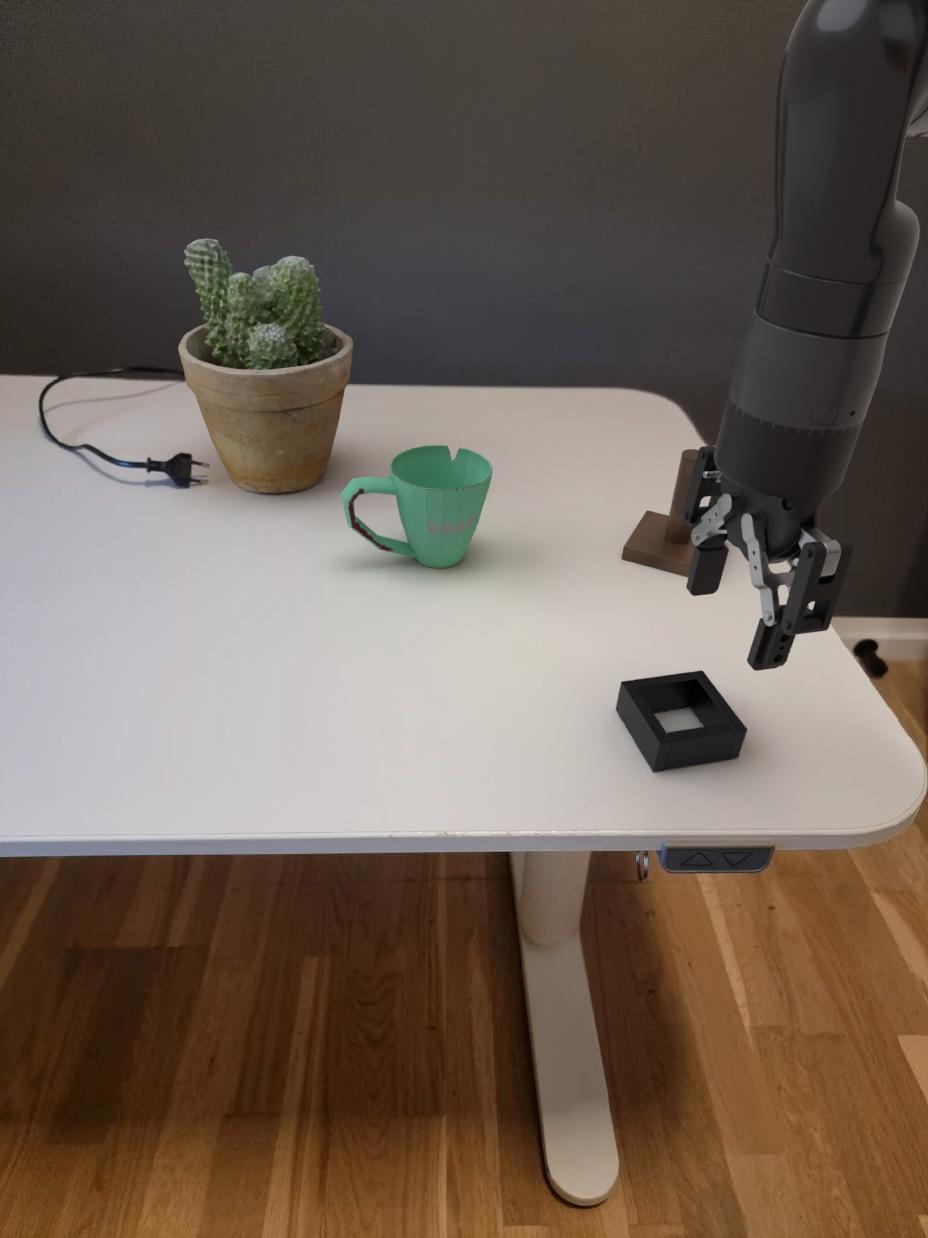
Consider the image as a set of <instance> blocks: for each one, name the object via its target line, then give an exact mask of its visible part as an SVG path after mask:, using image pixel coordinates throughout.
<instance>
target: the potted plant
mask: <svg viewBox="0 0 928 1238" xmlns="http://www.w3.org/2000/svg"><path fill="white" fill-rule="evenodd" d="M183 253H184V254H185V256H186V258H185V259H184V261H183V264H184V266H186V267H187V268H189V270H188V271H189V272H188V274H189V276H190V278H191V279H192V280H193V282H194V283H195V288H196V289H195V293H197V294H198V295H199V301H200V302H201V307H200V311H202V312H203V313H204V316H203V317H202V320H204V321H205V324H201V325H199V326H197V327H195V328H193V329H192V330H190V331H188V332H187V333H185V334H184V335H183V337H182V338H181V340H180V342H179V343H178V347H177V349H178V354H179V358H180V361H181V365H182V368H183V372H184V378H185V383H186V386H187V388H189V389H190V390H191V391H192V393H193V394H194V396H195V398H196V401H197V404H198V407H199V411H200V412H201V415H202V419H203V421H204V424H205V426H206V429H207V431H208V434H209V437H210V440H211V441H212V444H213V446H214V449H215V450H216V453H217V456H218V457H219V459H220V461H221V463H222V465H223V466H224V468H225V471H226V473H227V475H228V477H229V478H230V480H231V481H232V482H234V484H235V485H236V486H238V487H239V488H241V489H242V490H244V491H247V492H250V493H256V494H257V493H259V494H273V495H279V494H287V493H297V492H301V491H304V490H308V489H310V488H313V487H314V486H316V485H317V484H319V483H321V482H322V481H323V479H324V478H325V475H326V474H327V470H328V464H329V461H330V458H331V456H332V455H331V454H332V451H333V447H334V442H335V438H336V434H337V431H338V427H339V422H340V417H341V411H342V406H343V403H344V397H345V391H346V388H347V386H348V383H349V382H350V379H351V369H352V362H353V348H354V343H353V339H352V337H351V336H350V335H348V334H346V333H344V332H343V331H342V330H341V329H339V328H337V327H335V326H332V325H330V324H327V323H324V322H323V319H322V316H320V311H321V310H322V308H323V306H322V305H320V304H321V303H320V302H321V298H319V297H318V295H319V294H320V293H321V292H322V291H321V289H320V288H319V285H318V283H319V281H320V278H318V277H317V276H316V272H315V265H314V264H310V261H309V260H308V259H307V258H305V256H304V257H303V256H295V255H289V256H284V257H282V258H280V259H279V260H278V261H277V262H276V263H275V264H273V265H265V266H262V267H259V268H257V269H256V270H254V271H253V274H252V276H251V275H250V274H248V273H246V272H242V271H241V272H235V271H234V270H233V264H232V263H231V261H230V258H229V257H228V256H227V254H228V251H227V250H224V249H223V247H222V246H221V245H219V240H218V239H214V238H200V239H196V240H194V241H192V242H191V243H189V244H188V245H187V246H186V248H185V249H184V250H183Z"/></svg>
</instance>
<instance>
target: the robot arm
mask: <svg viewBox="0 0 928 1238" xmlns="http://www.w3.org/2000/svg"><path fill="white" fill-rule="evenodd" d="M776 89H777V90H776V97H775V111H774V112H775V113H774V156H773V157H774V163H773V205H774V206H773V207H774V229H773V234H772V238H771V241H770V243H769V248H768V251H767V256H766V258H765V263H764V267H763V271H762V274H761V275H762V276H761V279H760V282H759V283H760V285H759V287H758V292H757V295H756V298H755V303H754V308H753V311H752V315H751V317H750V320H749V322H748V323H749V324H748V326H747V328H746V331H745V333H744V335H743V339H742V341H741V344H740V347H739V351H738V354H737V357H736V361H735V366H734V370H733V374H732V377H731V382H730V387H729V391H728V394H727V398H726V401H725V407H724V412H723V414H722V419H721V423H720V427H719V431H718V436H717V440H716V443H715V444H713V445H706V446H705V445H703V446H701V447H699V449H698V450H699V451H698V455H697V458H696V462H695V466H694V470H693V473H692V477H691V481H690V484H689V488H688V492H687V496H686V499H685V503H684V507H683V510H682V521H683V523H684V524H685V525H690V524H691V526H692V528H693V531H692V535H691V537H692V542H693V544H694V545H695V549H694V553H693V557H692V561H691V566H690V569H689V577H688V576H687V577H688V578H687V582H686V586H685V589H686V590H687V591H688V592H689V593H690V595H691V596H692V597H697V596H707V595H714V594H715V593H716V592H718V590H719V588H720V584H721V581H722V577H723V573H724V569H725V566H726V562H727V558H728V556H729V551H730V549H729V547H728V546H726V544H728V543H730V544H731V545H732V546H734V547H736V548H738V550H739V551H740V552H741V554H742V555H743V557H744V559H745V560H747V562H748V564H749V565H748V566H749V573H750V582H751V585H752V586H753V587H754V588H755V589H756V590H758V591H759V597H760V605H761V614H762V617H760V618H759V620H758V624H757V627H756V630H755V633H754V635H753V640H752V643H751V646H750V649H749V651H748V654H747V658H746V662H747V665H749V666H750V668H751V669H752V670H754V671H755V672H757V671H765V670H772V669H777V668H779V667H783V666H784V665H785V664H786V663H787V661H788V659H789V656H790V653H791V649H792V648H793V644H794V642H795V639H796V636H797V635H804V634H811V633H819V632H825V631H828V630H829V628H830V626H831V622H832V620H833V616H834V613H835V610H836V607H837V604H838V601H839V598H840V595H841V591H842V588H843V585H844V581H845V578H846V575H847V572H848V569H849V566H850V563H851V561H852V556H853V553H854V548H853V544H852V542H851V540H849V539H848V538H837V539H832V538H830V537H829V536H827V535H826V534H824V533H823V532H822V531H821V530H820V511H821V507H822V504H823V503H824V502H825V501H826V500H827V499H828V498H829V497H830V496H831V495H832V494H834V492H835V491H837V490H838V489H839V488H840V487H841V486H842V484H843V482H844V480H845V478H846V477H845V476H846V474H847V471H848V468H849V465H850V462H851V459H852V456H853V454H854V452H855V451H854V450H855V448H856V445H857V442H858V439H859V436H860V433H861V430H862V428H863V425H864V421H865V419H866V416H867V413H868V410H869V408H870V404H871V401H872V398H873V396H874V393H875V390H876V387H877V384H878V381H879V377H880V375H881V371H882V367H883V362H884V357H885V350H886V346H887V341H888V339H889V335H890V330H891V328H892V325H893V321H894V320H895V316H896V313H897V310H898V307H899V305H900V302H901V299H902V295H903V292H904V290H905V287H906V285H907V281H908V277H909V276H910V272H911V269H912V266H913V263H914V260H915V259H914V258H915V256H916V252H917V249H918V244H919V240H920V232H921V230H920V229H921V228H920V222H919V218H918V215H917V214H916V213H915V212H914V211H913V209H912V208H911V207H910V206H908V205H906V204H905V203H903V202H902V201H900V200H898V199H897V193H898V186H899V179H900V172H901V165H902V159H903V152H904V147H905V142H906V140H915V139H924V138H928V0H807V2H806V4H805V5H804V7H803V9H802V11H801V12H800V14H799V16H798V18H797V20H796V22H795V24H794V26H793V28H792V31H791V33H790V35H789V39H788V42H787V43H786V47H785V50H784V53H783V57H782V61H781V63H780V69H779V73H778V81H777V87H776ZM706 497H707V498H708V497H710V498H709V501H708V504H707V505H705V506H701V502H702V500H703V499H704V498H706ZM724 543H725V544H724ZM789 559H790V560H791V561H790V562H791V568H790V569H789V571H786V572H777V573H775V572H773V571H772V570H771V569H770V566H769V565H775V564H781V563H783V562H786V561H787V560H789ZM781 586H785V587H786V588H787V592H788V596H787V600H786V603H785V604H780V596H779V588H780V587H781ZM813 602H814V604H813V607H812V609H811V608H810V606H809V604H811V603H813Z"/></svg>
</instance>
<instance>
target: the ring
mask: <svg viewBox="0 0 928 1238" xmlns="http://www.w3.org/2000/svg"><path fill="white" fill-rule="evenodd" d="M686 708H690V709H691V710H692V712H693V713H694V714H695V716H696V717H697V719H698V720H699V722H700V723H701V724H702V726H700V727H694V728H693V727H692V728H687V729H680V730H673V731H668V732H667V731H666V730H665V728H664V726H663V725H662V723H661V722H660V721H659V718H658V717H657V715H656V714H655V713H658V712H666V711H671V710H678V709H686ZM615 711H616V713H617V715H618V716H619V718H620V720H621V721H622V723H623V725H624V726H625V728H626V730H627V731H628V733H629V734H630V736H631V738H632V740H633V741H634V743H635V744H636V746H637V748H638V750H639V751H640V753H641V755H642V756H643V758H644V760H645V761H646V763H647V765H648V766H649V768H650V769H651V771H652V773H657V772H663V771H668V770H670V771H671V770H675V769H680V768H681V769H682V768H688V767H694V766H698V765H699V766H700V765H704V764H705V765H706V764H710V763H711V764H712V763H717V762H722V761H727V760H733V759H738V758H739V757H740V754H741V751H742V748H743V745H744V741H745V738H746V735H747V733H748V728H747V727H746V725H745V724H744V723H743V721H742V720H741V718H740V717H739V716H738V715H737V714H736V712H735V711H734V709H733V708H732V707H731V705H730V704H729V703H728V701H727V700H726V699H725V697H723V695H722V694H721V692H720V691H719V690H718V688H717V687H716V686H715V684H714V683H713V682H712V681H711V679H710V678H709V676H708V675H707V674H706V672H704V670H695V671H687V672H679V673H673V674H665V675H658V676H649V677H643V678H636V679H630V680H622V681H620V686H619V691H618V696H617V700H616V706H615Z"/></svg>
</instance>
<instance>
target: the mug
mask: <svg viewBox="0 0 928 1238" xmlns="http://www.w3.org/2000/svg"><path fill="white" fill-rule="evenodd" d="M389 476H390V477H381V476H363V477H361V476H360V477H353V478H352V479H351V480H350V481H349V483H348V485H346V487H344V489H343V490H342V492H341V493H340V495H341V500H342V505H343V509H344V514H345V518H346V519H345V520H346V525H347V526H348V528H350V529H351V530H352V531H354V532H355V533H357V534H358V535H359V536H360V537H362V538H363V539H365V540H366V541H367V542H369V544H371V545H373V546H374V547H375V548H376V549H378V550H379V551H384V552H387V553H392V554H397V555H400V556H406V557H408V558H412V559H413V558H414V559H415V560H416V561H417V562H418V563H419V564H421V565H422V566H425V567H429V568H433V569H448V568H451V567H454V566H455V565H457V564H459V563H460V562H461V561H462V559H463V557H464V555H465V554H466V551H467V550H468V548H469V546H470V545H471V542H472V540H473V537H474V535H475V532H476V529H477V527H478V525H479V522H480V519H481V516H482V512H483V508H484V504H485V501H486V498H487V495H488V493H489V489H490V485H491V481H492V476H493V466H492V464H491V461H489V460H488V459H487V458H486V457H484V456H483V455H482V454H481V453H479V452H477V451H474V450H472V449H469V448H464V447H459V448H458V450H457V452H456V454H455V457H454V459H452V457H451V451H450V449H449V446H448V445H447V444H428V445H427V444H426V445H420V446H416V447H411V448H409V449H405V450H403V451H400V452H399V453H398V454H396V455H395V456H394V457H393V458H392V459H391V462H390V464H389ZM369 494H380V495H381V494H382V495H390V496H395V498H396V504H397V510H398V515H399V519H400V522H401V526H402V529H403V531H404V534H405V537H406V539H407V541H404V540H400V539H396V538H391V537H387V536H384V535H379V534H377V533H376V531H374V530H372V529H371V528H370V527H369V526H368V525H367V524H366V523H365V522H364V521H362V520H361V519H360V518H359V517H357V516H356V511H355V501H356V499H358V497H359V496H362V495H369Z"/></svg>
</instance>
